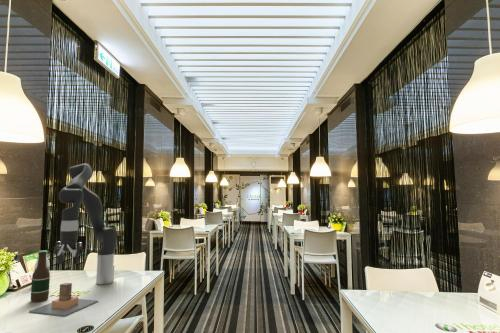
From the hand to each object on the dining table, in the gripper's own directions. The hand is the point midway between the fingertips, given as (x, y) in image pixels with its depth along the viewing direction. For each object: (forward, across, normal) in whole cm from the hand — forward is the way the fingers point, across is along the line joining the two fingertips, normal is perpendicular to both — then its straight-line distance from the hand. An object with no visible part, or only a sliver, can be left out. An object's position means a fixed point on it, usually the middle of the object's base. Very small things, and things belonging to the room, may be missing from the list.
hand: (67, 263), depth 150 cm
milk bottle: (+20, +45, -27) cm, 56 cm away
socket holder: (+20, 0, 0) cm, 20 cm away
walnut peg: (+19, 0, 0) cm, 19 cm away
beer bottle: (+20, +21, -5) cm, 30 cm away
